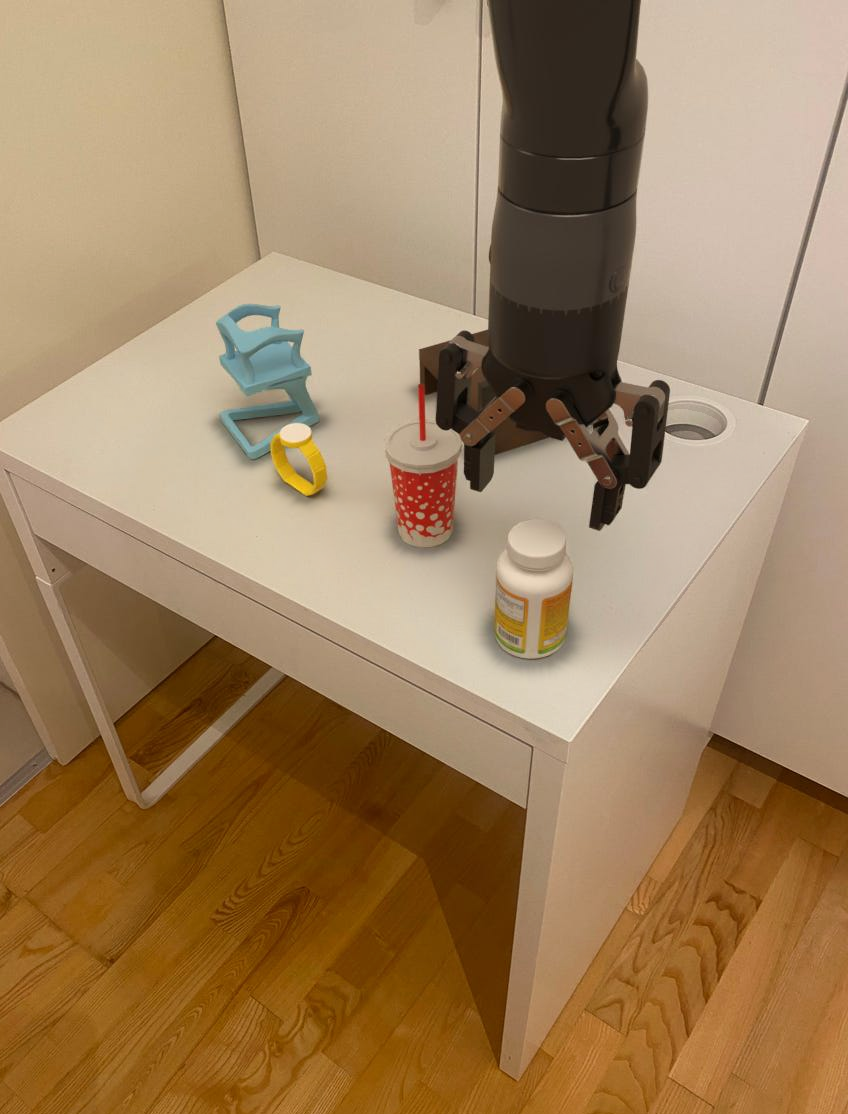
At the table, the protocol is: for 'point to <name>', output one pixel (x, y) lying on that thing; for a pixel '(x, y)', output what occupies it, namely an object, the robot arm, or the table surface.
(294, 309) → the table surface
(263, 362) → the chair
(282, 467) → the watch
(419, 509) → the beverage cup
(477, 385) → the shelf
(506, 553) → the supplement bottle
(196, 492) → the table surface
